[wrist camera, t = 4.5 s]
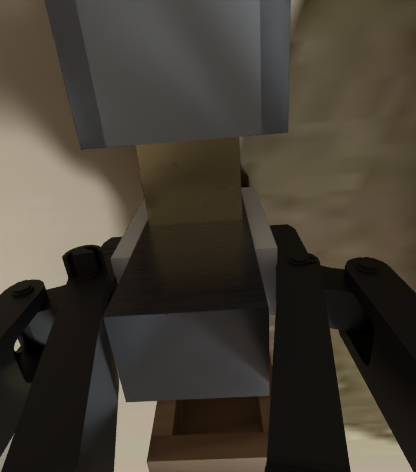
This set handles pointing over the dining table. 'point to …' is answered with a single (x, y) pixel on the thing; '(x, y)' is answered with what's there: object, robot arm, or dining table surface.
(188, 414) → the socket block
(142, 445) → the dining table surface
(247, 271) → the tan sliding insert
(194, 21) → the outer sleeve
